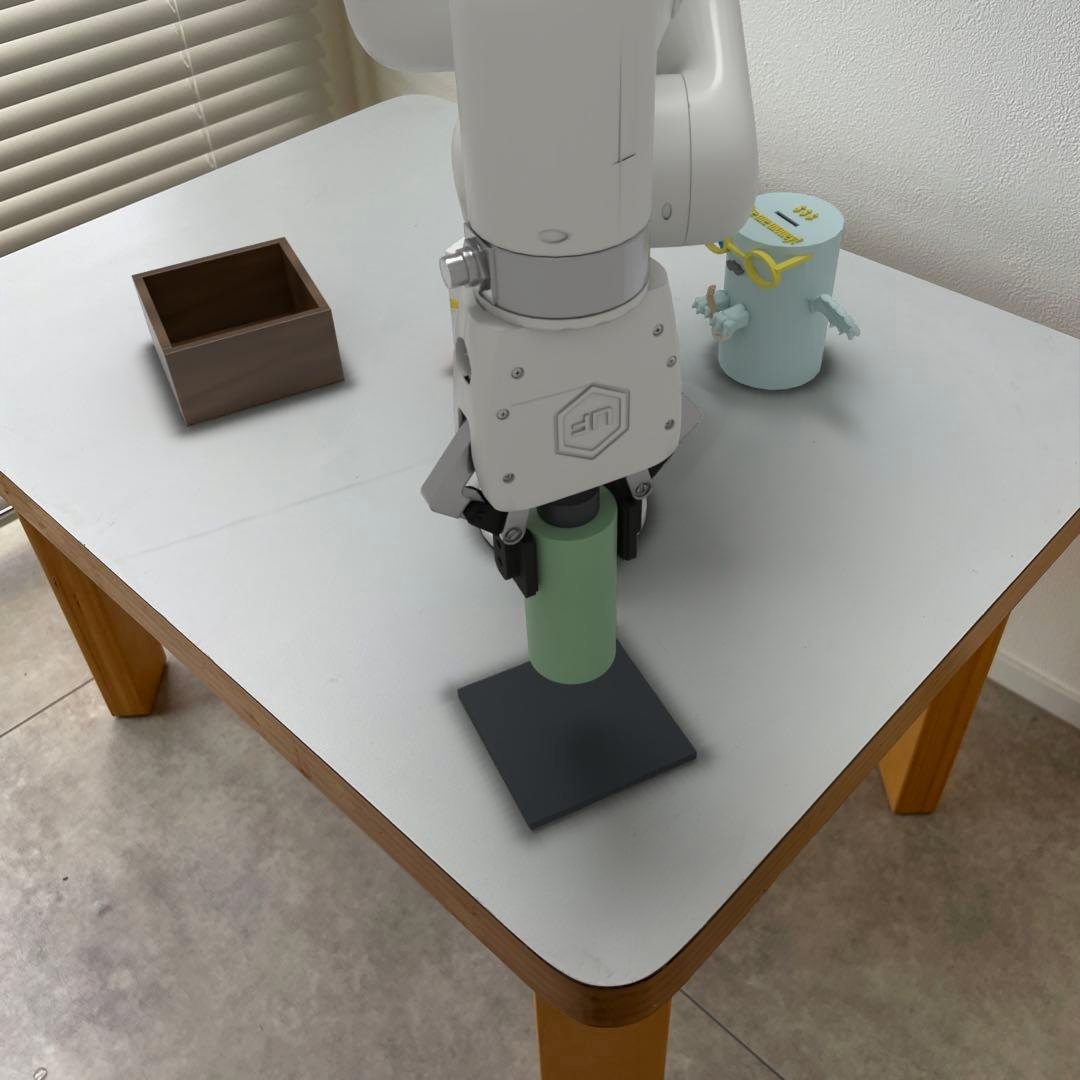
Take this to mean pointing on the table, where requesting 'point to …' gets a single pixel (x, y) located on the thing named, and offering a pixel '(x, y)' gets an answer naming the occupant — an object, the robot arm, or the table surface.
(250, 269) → the open box
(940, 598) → the table surface
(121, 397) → the table surface
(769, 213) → the character sculpture
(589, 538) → the bottle
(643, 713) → the mat
